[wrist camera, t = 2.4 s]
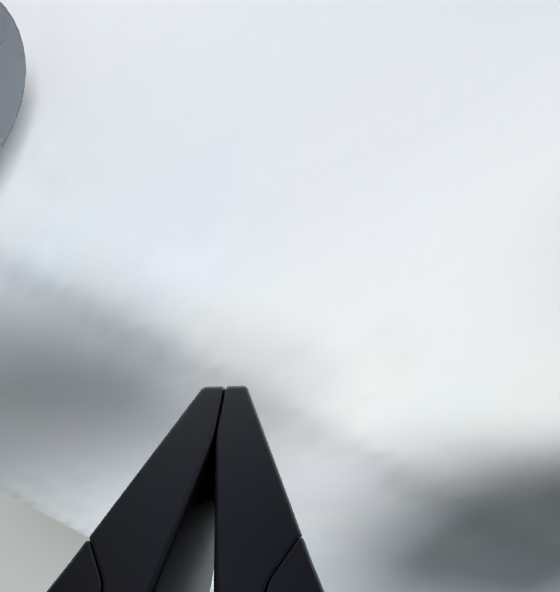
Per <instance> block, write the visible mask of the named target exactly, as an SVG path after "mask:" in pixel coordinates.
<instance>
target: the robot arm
mask: <svg viewBox="0 0 560 592" xmlns="http://www.w3.org/2000/svg"><path fill="white" fill-rule="evenodd" d="M213 570H214V592H324V590H323V588H322V585H321V583H320V580H319V578H318V575H317V573H316V570H315V568H314V565H313V563H312V561H311V558H310V555H309V552H308V550H307V547H306V544H305V542H304V539H303V538H302V534H301V531H300V529H299V526H298V523H297V521H296V518H295V515H294V512H293V510H292V507H291V504H290V502H289V499H288V496H287V494H286V491H285V488H284V485H283V483H282V480H281V477H280V475H279V472H278V469H277V467H276V464H275V461H274V458H273V456H272V453H271V450H270V448H269V445H268V442H267V440H266V437H265V434H264V431H263V429H262V426H261V423H260V421H259V418H258V415H257V412H256V410H255V407H254V404H253V402H252V399H251V396H250V394H249V391H248V388H247V387H245V386H228V387H226V389H225V388H224V387H221V386H219V387H204V388H203V389H202V390H201V391H200V392H199V393H198V395H197V396H196V397H195V399H194V400H193V401H192V403H191V404H190V405H189V407H188V408H187V409H186V411H185V412H184V413H183V414H182V416H181V417H180V418H179V420H178V421H177V422H176V424H175V425H174V426H173V428H172V429H171V430H170V432H169V433H168V434H167V436H166V437H165V438H164V440H163V441H162V442H161V443H160V445H159V446H158V447H157V449H156V450H155V451H154V453H153V454H152V455H151V457H150V458H149V459H148V461H147V462H146V463H145V465H144V466H143V467H142V469H141V470H140V471H139V473H138V474H137V475H136V476H135V478H134V479H133V480H132V482H131V483H130V484H129V486H128V487H127V488H126V490H125V491H124V492H123V494H122V495H121V496H120V498H119V499H118V500H117V501H116V503H115V504H114V505H113V507H112V508H111V509H110V511H109V512H108V513H107V515H106V516H105V517H104V519H103V520H102V521H101V523H100V524H99V525H98V527H97V528H96V529H95V530H94V532H93V533H92V534H91V536H90V541H86V542H85V543H84V545H83V546H82V547H81V549H80V550H79V551H78V553H77V554H76V555H75V557H74V558H73V559H72V561H71V562H70V563H69V564H68V566H67V567H66V568H65V569H64V571H63V572H62V573H61V574H60V576H59V577H58V578H57V580H56V581H55V582H54V583H53V584H52V586H51V587H50V588H49V590H48V591H47V592H210V587H211V581H212V576H213Z"/></svg>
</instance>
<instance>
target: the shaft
mask: <svg viewBox="0 0 560 592" xmlns="http://www.w3.org/2000/svg"><path fill="white" fill-rule="evenodd" d="M25 74H26V65H25V53H24V47H23V42H22V39H21V36H20V33H19V30H18V28H17V26H16V24H15V22H14V19H13V18H12V16H11V15H10V13H9V12H8V10H7V9H6V7H5V6H4V5H3V4H2V3H1V2H0V149H1V147H2V145H3V144H4V142H5V140H6V138H7V137H8V135H9V133H10V131H11V128H12V126H13V124H14V122H15V119H16V117H17V114H18V111H19V108H20V104H21V101H22V97H23V91H24V86H25Z"/></svg>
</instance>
